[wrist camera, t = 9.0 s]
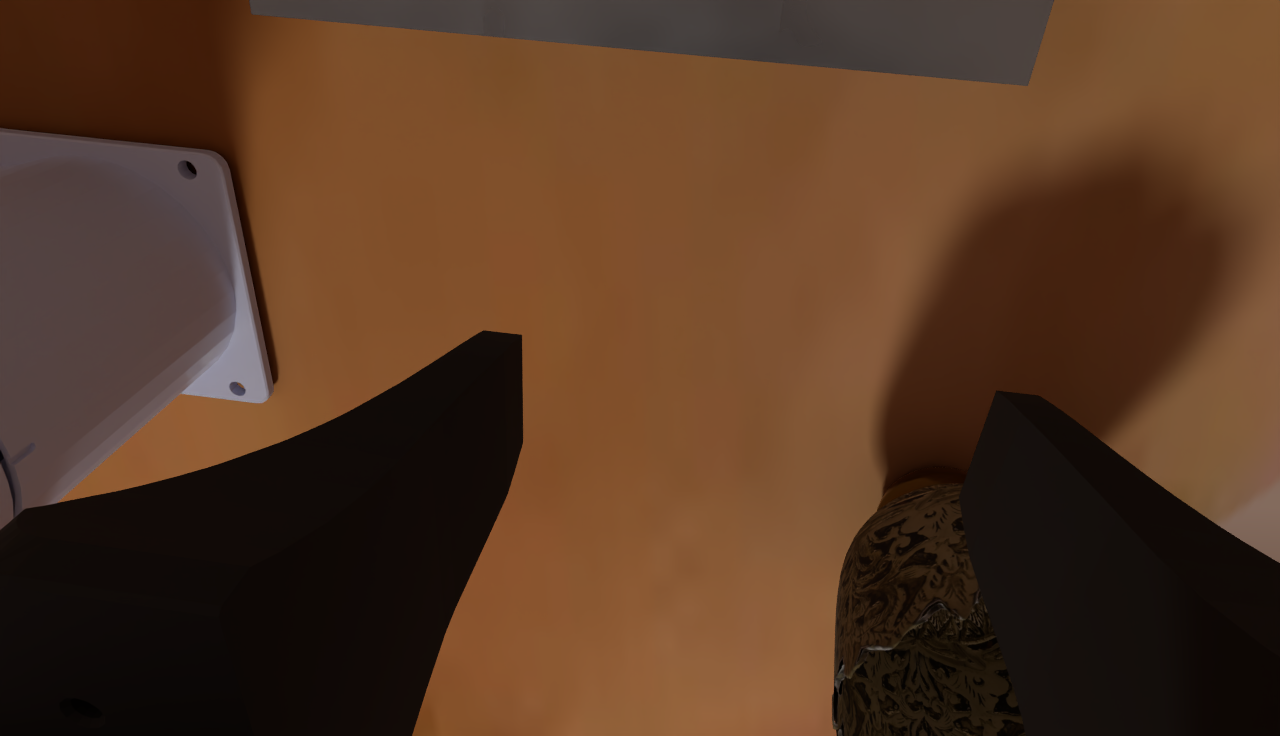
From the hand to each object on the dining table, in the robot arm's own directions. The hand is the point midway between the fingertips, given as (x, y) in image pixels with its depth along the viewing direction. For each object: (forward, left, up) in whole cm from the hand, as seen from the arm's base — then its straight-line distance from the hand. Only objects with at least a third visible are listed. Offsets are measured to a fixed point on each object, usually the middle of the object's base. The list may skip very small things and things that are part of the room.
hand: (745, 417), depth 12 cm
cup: (+7, -9, -10) cm, 15 cm away
